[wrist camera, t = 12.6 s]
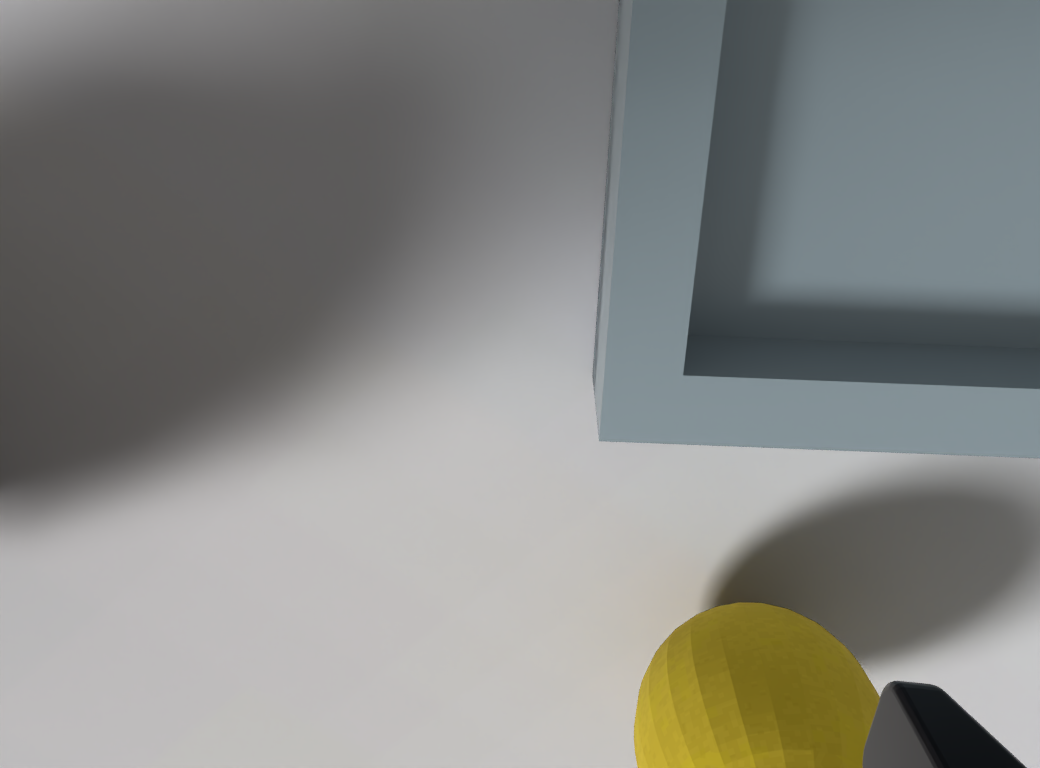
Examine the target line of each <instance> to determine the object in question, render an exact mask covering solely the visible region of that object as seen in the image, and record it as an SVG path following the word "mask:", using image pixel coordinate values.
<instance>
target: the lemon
mask: <svg viewBox="0 0 1040 768" xmlns="http://www.w3.org/2000/svg"><path fill="white" fill-rule="evenodd" d="M879 700H880V697H879V695H878V693H877V692H876V690H875V688H874V686H873V685H872V683H871V682H870V680H869V678H868V677H867V675H866V673H865V672H864V670H863V669H862V667H861V665H860V664H859V662H858V661H857V660H856V658H855V657H854V656H853V654H852V653H851V652H850V651H849V650H848V649H847V648H846V647H845V646H844V645H843V644H842V643H841V642H840V641H839V640H837V639H836V638H835V637H834V636H833V635H832V634H830V633H829V632H828V631H827V630H826V629H824V628H823V627H822V626H821V625H819V624H818V623H816V622H814V621H812V620H810V619H808V618H806V617H804V616H802V615H800V614H798V613H796V612H794V611H792V610H790V609H787V608H782V607H778V606H773V605H769V604H764V603H743V602H738V603H733V604H728V605H722V606H717V607H714V608H712V609H709V610H707V611H704V612H702V613H699V614H697V615H696V616H694V617H693V618H691V619H690V620H688V621H687V622H685V623H684V624H682V625H681V626H679V627H678V628H677V629H675V630H674V631H673V633H672V634H671V635H670V636H669V637H668V638H667V639H666V640H665V641H664V643H663V644H662V645H661V646H660V647H659V649H658V650H657V651H656V653H655V655H654V657H653V659H652V661H651V663H650V665H649V667H648V669H647V671H646V673H645V675H644V677H643V680H642V683H641V687H640V690H639V696H638V703H637V709H636V717H635V724H634V745H635V754H636V760H637V766H638V768H863V765H862V764H863V751H864V747H865V743H866V740H867V737H868V734H869V731H870V727H871V724H872V721H873V718H874V715H875V712H876V709H877V706H878V703H879Z"/></svg>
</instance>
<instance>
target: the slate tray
mask: <svg viewBox="0 0 1040 768" xmlns="http://www.w3.org/2000/svg"><path fill="white" fill-rule="evenodd" d="M593 385H594V395H595V405H596V415H597V425H598V435H599V441H610V442H635V443H661V444H687V445H712V446H738V447H763V448H789V449H814V450H840V451H866V452H891V453H917V454H942V455H968V456H993V457H1019V458H1040V0H619V8H618V22H617V37H616V51H615V65H614V79H613V93H612V108H611V122H610V136H609V150H608V164H607V179H606V193H605V207H604V221H603V235H602V250H601V264H600V278H599V292H598V306H597V321H596V335H595V349H594V363H593Z"/></svg>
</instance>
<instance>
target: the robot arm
mask: <svg viewBox="0 0 1040 768" xmlns="http://www.w3.org/2000/svg"><path fill="white" fill-rule="evenodd" d="M862 765H863V768H1027V767H1025V766H1024V765H1023V764H1022V763H1021V762H1020V761H1019V760H1018V759H1017V758H1016V757H1015V756H1014V755H1013V754H1011V753H1010V752H1009V751H1008V750H1007V749H1006V748H1005V747H1004V746H1003V745H1002V744H1001V743H1000V742H999V741H998V740H996V739H995V738H994V737H993V736H992V735H991V734H990V733H989V732H988V731H987V730H986V729H985V728H984V727H982V726H981V725H980V724H979V723H978V722H977V721H976V720H975V719H974V718H973V717H972V716H971V715H970V714H968V713H967V712H966V711H965V710H964V709H963V708H962V707H961V706H960V705H959V704H958V703H957V702H956V701H955V700H953V699H952V698H951V697H950V696H949V695H948V694H947V693H946V692H945V691H943V690H942V689H941V688H939V687H937V686H935V685H931V684H924V683H914V682H904V681H893V682H890V683H888V684H887V685H886V686H885V688H884V689H883V691H882V694H881V697H880V700H879V703H878V706H877V709H876V712H875V715H874V718H873V721H872V724H871V727H870V731H869V734H868V737H867V740H866V743H865V747H864V751H863V764H862Z"/></svg>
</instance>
